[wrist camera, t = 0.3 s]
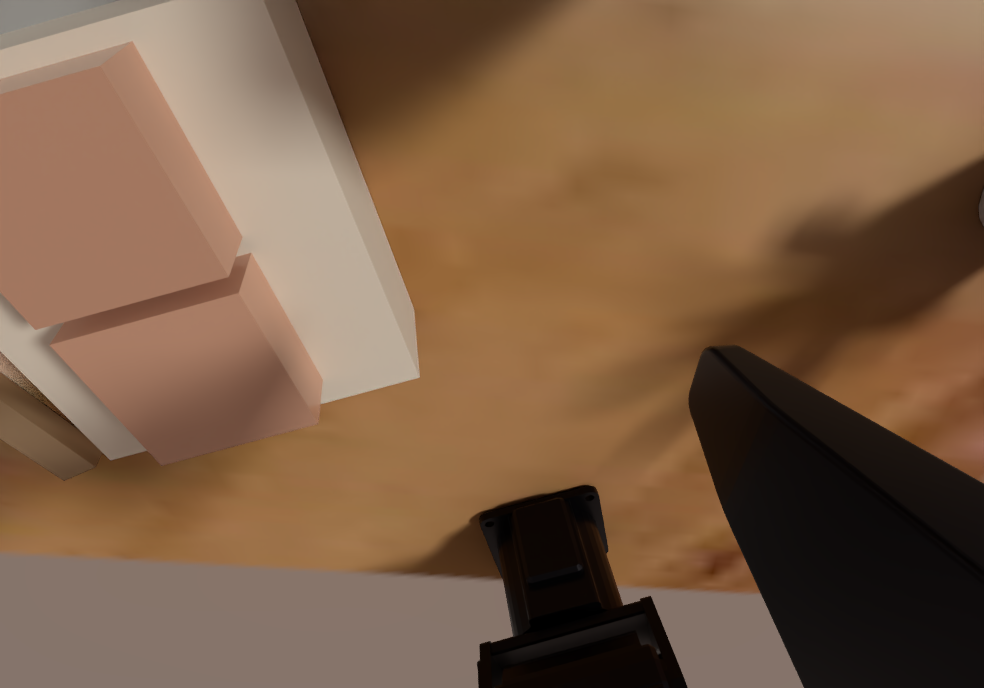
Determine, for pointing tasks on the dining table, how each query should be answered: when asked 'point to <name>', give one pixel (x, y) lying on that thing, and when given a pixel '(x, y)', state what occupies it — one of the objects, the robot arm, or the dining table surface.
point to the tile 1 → (101, 192)
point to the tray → (40, 11)
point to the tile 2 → (198, 366)
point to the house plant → (981, 208)
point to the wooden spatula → (43, 433)
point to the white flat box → (245, 187)
